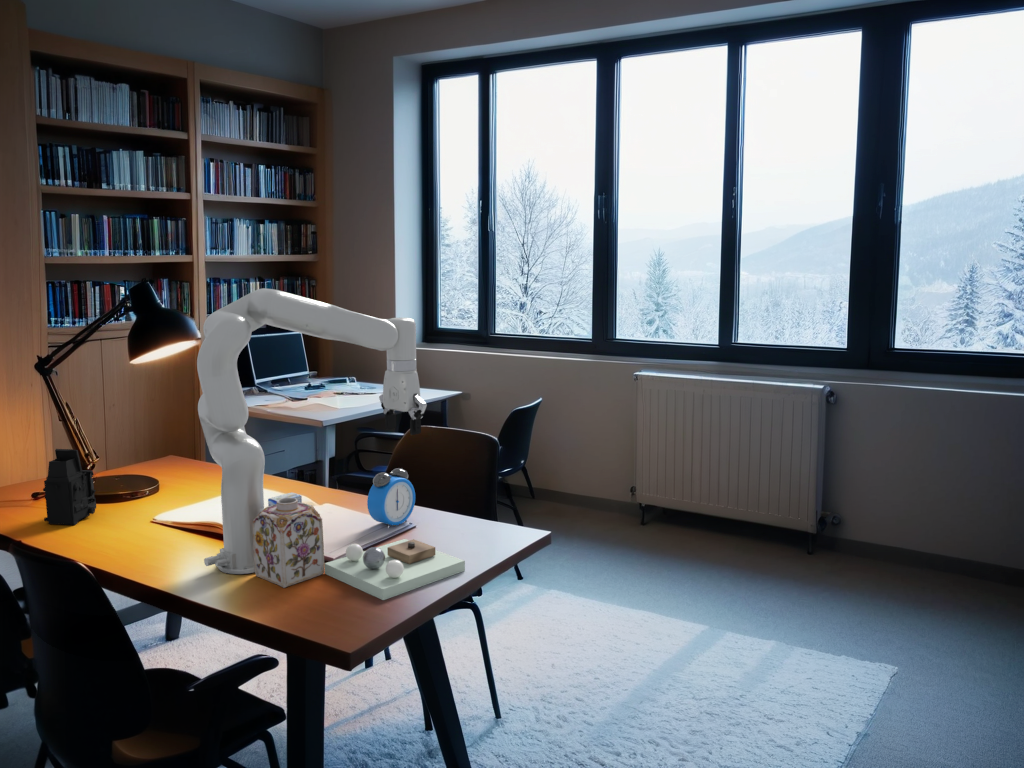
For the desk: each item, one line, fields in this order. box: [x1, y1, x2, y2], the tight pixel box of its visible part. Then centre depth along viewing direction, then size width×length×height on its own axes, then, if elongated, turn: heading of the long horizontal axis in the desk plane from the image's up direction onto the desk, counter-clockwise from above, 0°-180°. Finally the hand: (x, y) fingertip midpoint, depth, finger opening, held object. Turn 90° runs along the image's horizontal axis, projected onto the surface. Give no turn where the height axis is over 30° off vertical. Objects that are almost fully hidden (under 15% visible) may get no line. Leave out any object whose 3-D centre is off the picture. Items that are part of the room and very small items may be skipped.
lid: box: [388, 538, 436, 564], centre depth 204 cm, size 8×8×3 cm
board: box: [324, 538, 466, 601], centre depth 201 cm, size 24×22×2 cm
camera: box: [42, 448, 97, 526], centre depth 238 cm, size 10×14×20 cm
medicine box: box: [267, 492, 303, 507], centre depth 232 cm, size 8×4×9 cm, turn 141°
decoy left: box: [345, 543, 364, 561], centre depth 201 cm, size 4×4×4 cm
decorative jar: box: [253, 498, 325, 589], centre depth 198 cm, size 12×12×18 cm
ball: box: [363, 546, 385, 570], centre depth 196 cm, size 5×5×5 cm
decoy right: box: [386, 560, 404, 578], centre depth 191 cm, size 4×4×4 cm
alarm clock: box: [366, 467, 416, 527], centre depth 235 cm, size 13×6×15 cm, turn 143°
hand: (403, 431), depth 223 cm, fingers open, 9 cm apart
